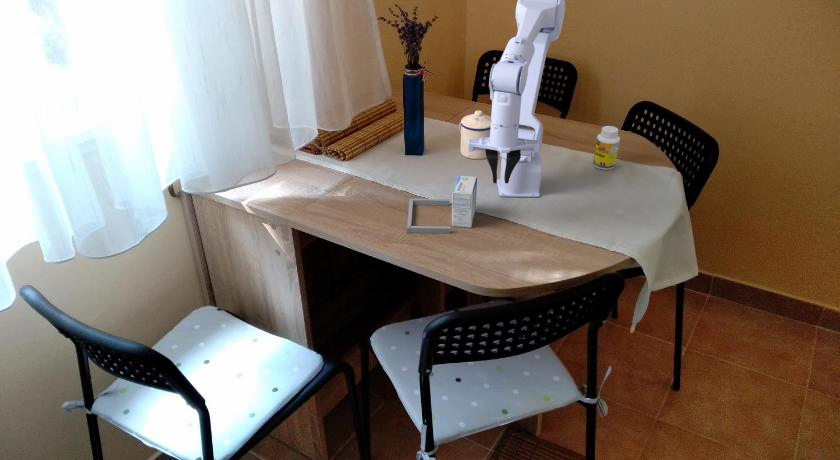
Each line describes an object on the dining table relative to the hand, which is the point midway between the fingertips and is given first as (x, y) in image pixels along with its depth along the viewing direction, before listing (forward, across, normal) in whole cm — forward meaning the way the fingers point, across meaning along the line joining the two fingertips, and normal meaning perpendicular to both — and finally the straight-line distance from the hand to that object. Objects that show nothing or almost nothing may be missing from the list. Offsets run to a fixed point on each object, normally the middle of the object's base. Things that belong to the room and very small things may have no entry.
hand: (500, 181), depth 135 cm
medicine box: (+10, -8, 0) cm, 12 cm away
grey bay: (+9, -15, 0) cm, 18 cm away
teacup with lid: (+10, -4, +34) cm, 36 cm away
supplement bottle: (+10, +29, +26) cm, 40 cm away
